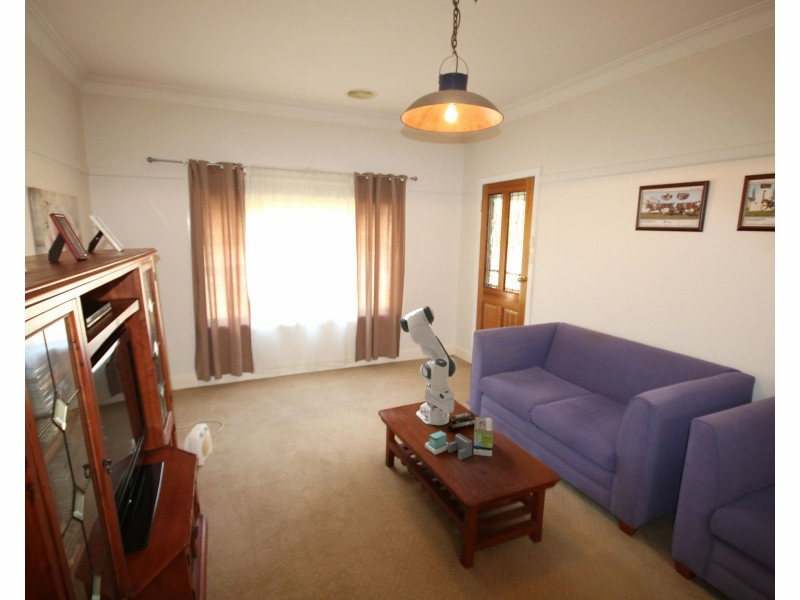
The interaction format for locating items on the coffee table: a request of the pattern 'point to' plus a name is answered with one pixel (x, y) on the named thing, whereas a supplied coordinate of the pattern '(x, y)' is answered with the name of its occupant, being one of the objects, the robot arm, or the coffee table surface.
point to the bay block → (461, 446)
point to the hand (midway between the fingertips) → (438, 413)
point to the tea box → (483, 436)
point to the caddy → (437, 440)
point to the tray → (436, 449)
